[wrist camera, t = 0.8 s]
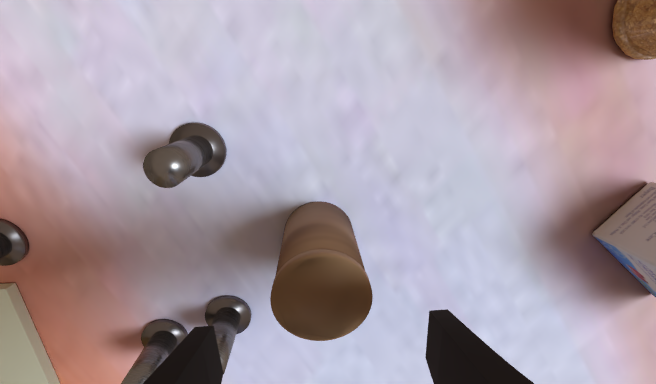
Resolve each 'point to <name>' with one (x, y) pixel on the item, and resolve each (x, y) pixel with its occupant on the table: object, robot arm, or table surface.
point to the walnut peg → (320, 275)
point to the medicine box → (634, 236)
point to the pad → (21, 343)
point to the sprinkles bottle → (635, 28)
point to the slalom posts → (166, 171)
